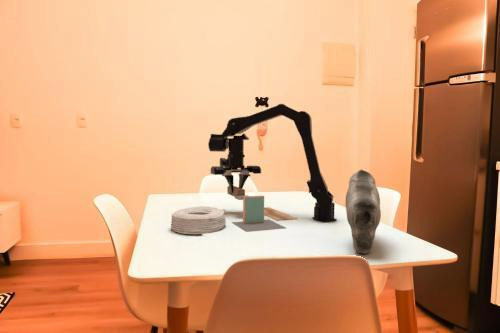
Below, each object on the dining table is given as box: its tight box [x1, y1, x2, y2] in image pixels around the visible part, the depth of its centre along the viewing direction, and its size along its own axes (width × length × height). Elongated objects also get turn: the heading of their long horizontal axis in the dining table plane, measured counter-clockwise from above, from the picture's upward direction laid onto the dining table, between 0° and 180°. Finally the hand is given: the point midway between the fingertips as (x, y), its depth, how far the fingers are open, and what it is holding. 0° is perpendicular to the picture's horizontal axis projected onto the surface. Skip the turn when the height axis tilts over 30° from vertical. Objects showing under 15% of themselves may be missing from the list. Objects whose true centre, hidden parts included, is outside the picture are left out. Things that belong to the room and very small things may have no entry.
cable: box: [170, 206, 227, 235], centre depth 116 cm, size 18×18×6 cm
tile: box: [242, 195, 265, 224], centre depth 122 cm, size 7×2×9 cm, turn 112°
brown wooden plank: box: [226, 185, 249, 201], centre depth 137 cm, size 16×5×3 cm, turn 22°
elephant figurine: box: [345, 168, 382, 255], centre depth 100 cm, size 25×9×20 cm, turn 165°
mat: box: [231, 218, 287, 233], centre depth 119 cm, size 14×14×1 cm
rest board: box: [264, 206, 298, 222], centre depth 139 cm, size 8×24×1 cm, turn 22°
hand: (235, 192), depth 139 cm, fingers closed on brown wooden plank, 3 cm apart
